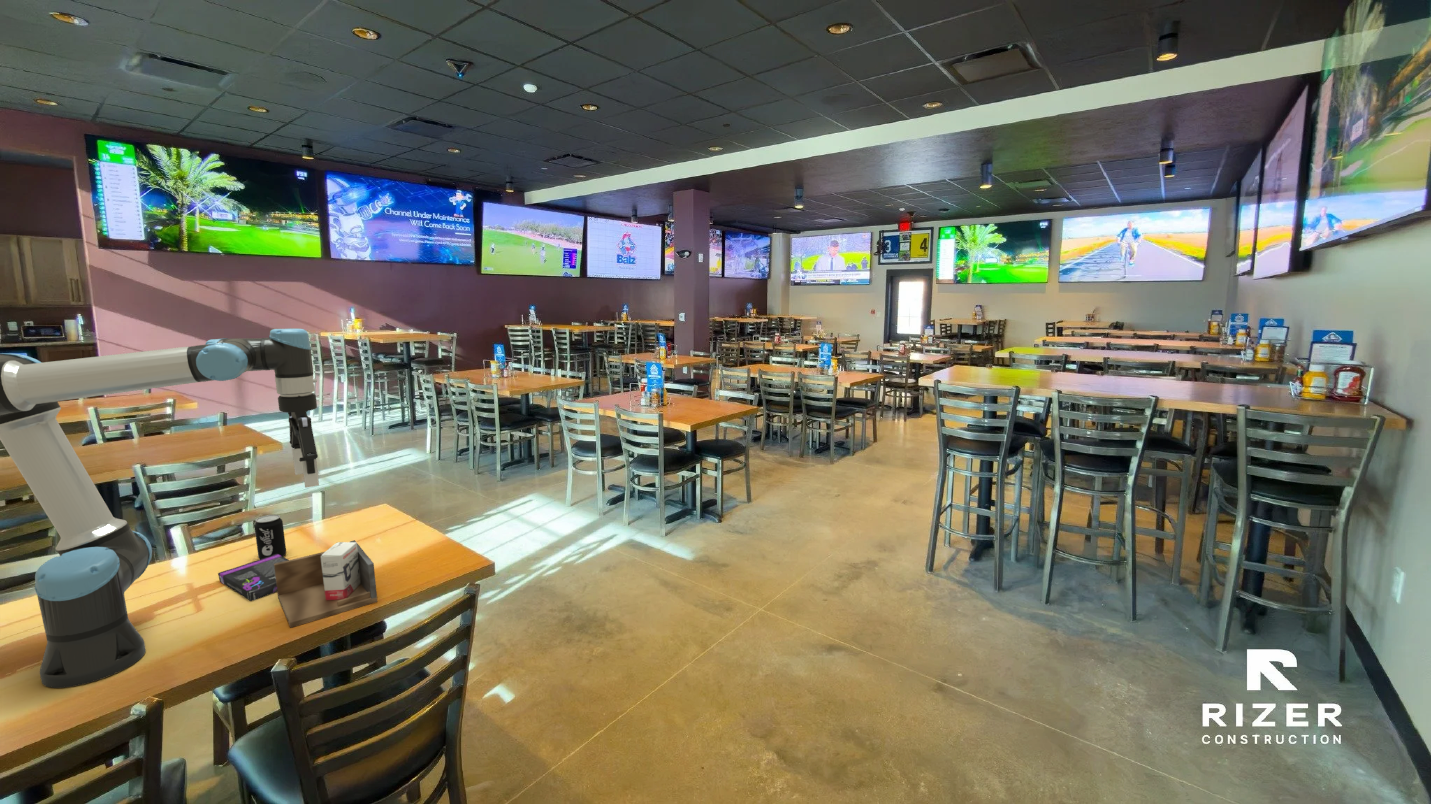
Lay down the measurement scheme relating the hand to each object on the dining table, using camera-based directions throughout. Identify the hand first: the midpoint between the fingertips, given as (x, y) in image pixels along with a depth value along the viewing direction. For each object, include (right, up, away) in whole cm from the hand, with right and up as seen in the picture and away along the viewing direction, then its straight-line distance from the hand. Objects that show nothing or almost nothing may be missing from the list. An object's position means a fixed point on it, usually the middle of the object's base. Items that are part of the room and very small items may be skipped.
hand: (306, 479), depth 149 cm
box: (-20, -29, +14) cm, 38 cm away
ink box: (+6, -29, +5) cm, 30 cm away
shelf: (+3, -30, +4) cm, 31 cm away
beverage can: (-28, -26, +28) cm, 48 cm away
